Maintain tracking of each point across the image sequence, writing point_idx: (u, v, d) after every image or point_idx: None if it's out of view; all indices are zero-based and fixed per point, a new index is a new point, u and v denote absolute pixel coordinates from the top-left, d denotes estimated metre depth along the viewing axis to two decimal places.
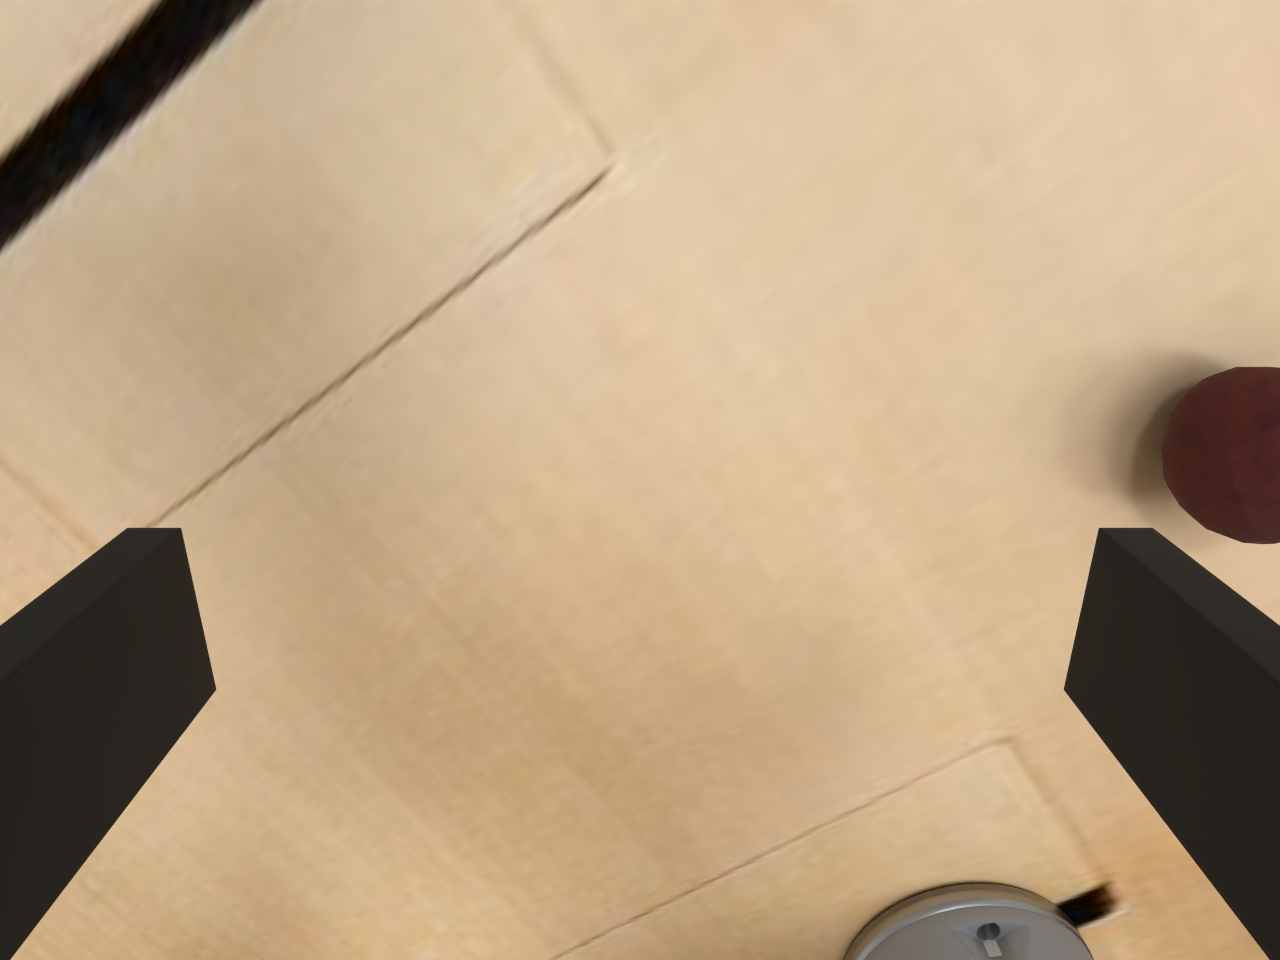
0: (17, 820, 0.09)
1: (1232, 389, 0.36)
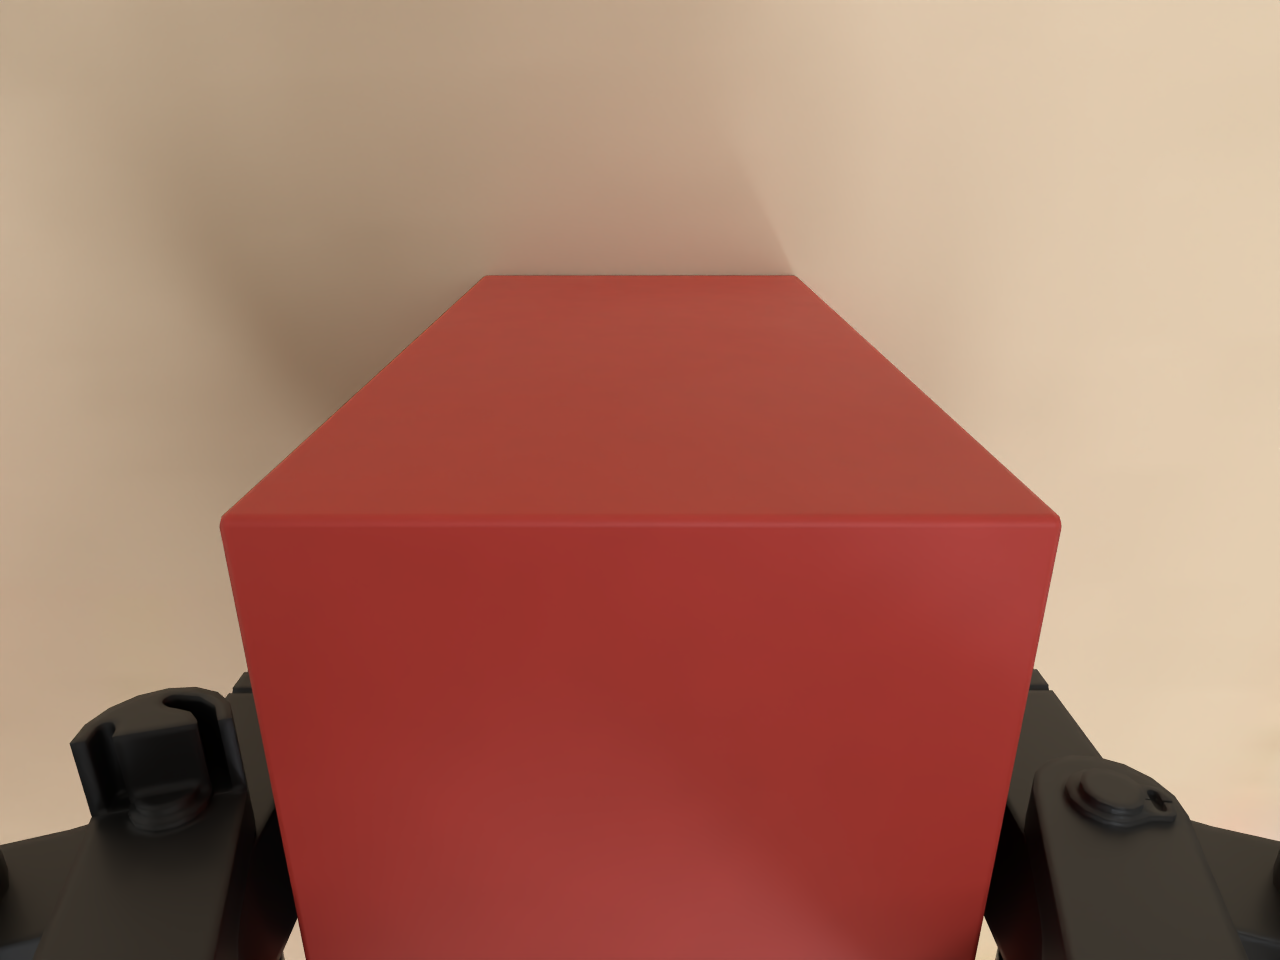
0: None
1: None
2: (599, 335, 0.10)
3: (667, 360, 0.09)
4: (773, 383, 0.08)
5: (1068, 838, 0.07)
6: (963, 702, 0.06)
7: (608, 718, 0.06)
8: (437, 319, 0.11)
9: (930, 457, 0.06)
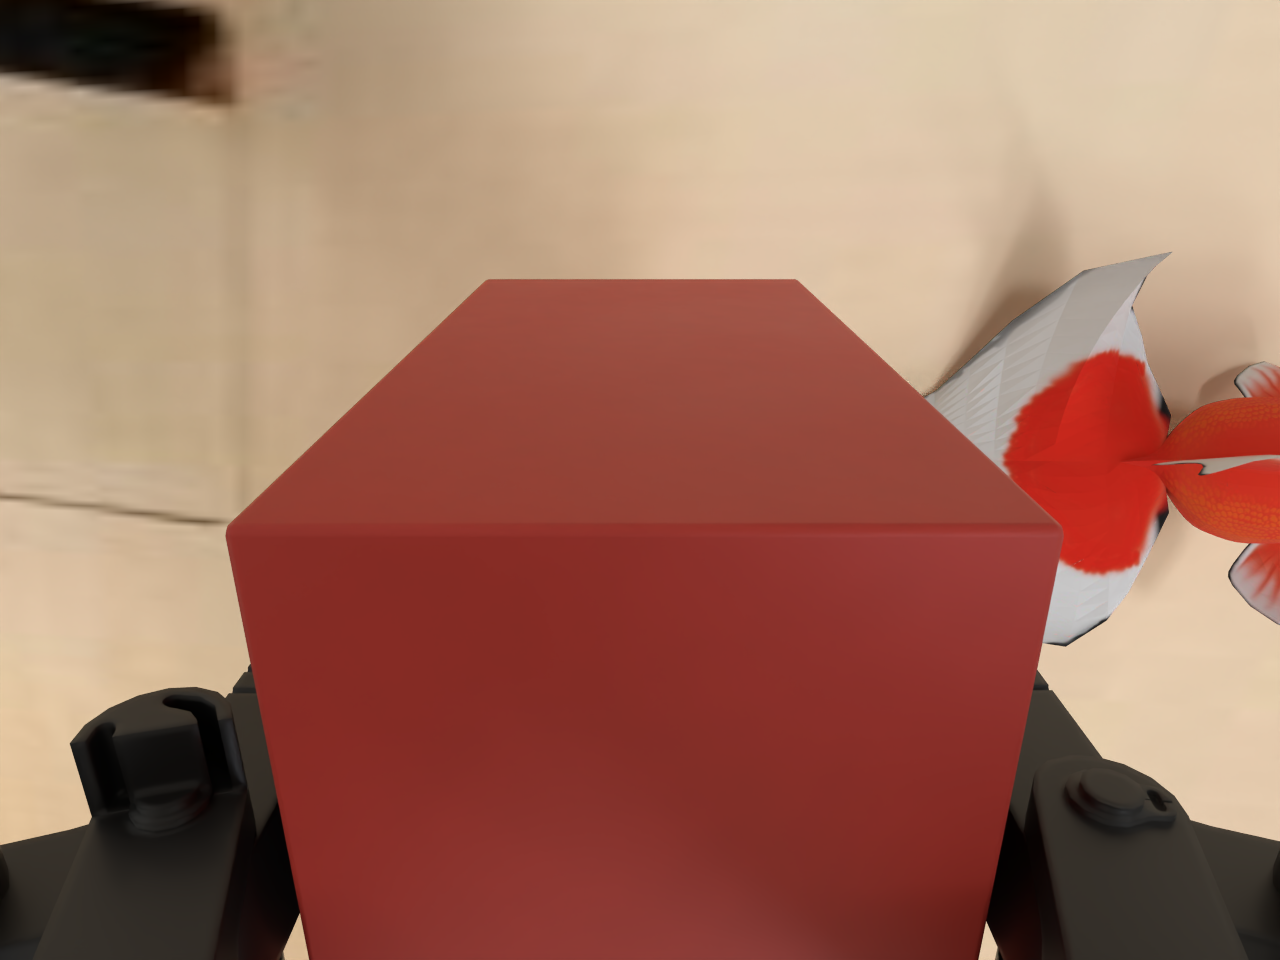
0: None
1: None
2: (601, 340, 0.10)
3: (669, 366, 0.09)
4: (775, 388, 0.08)
5: (1067, 837, 0.07)
6: (966, 710, 0.06)
7: (614, 725, 0.06)
8: None
9: (933, 465, 0.06)
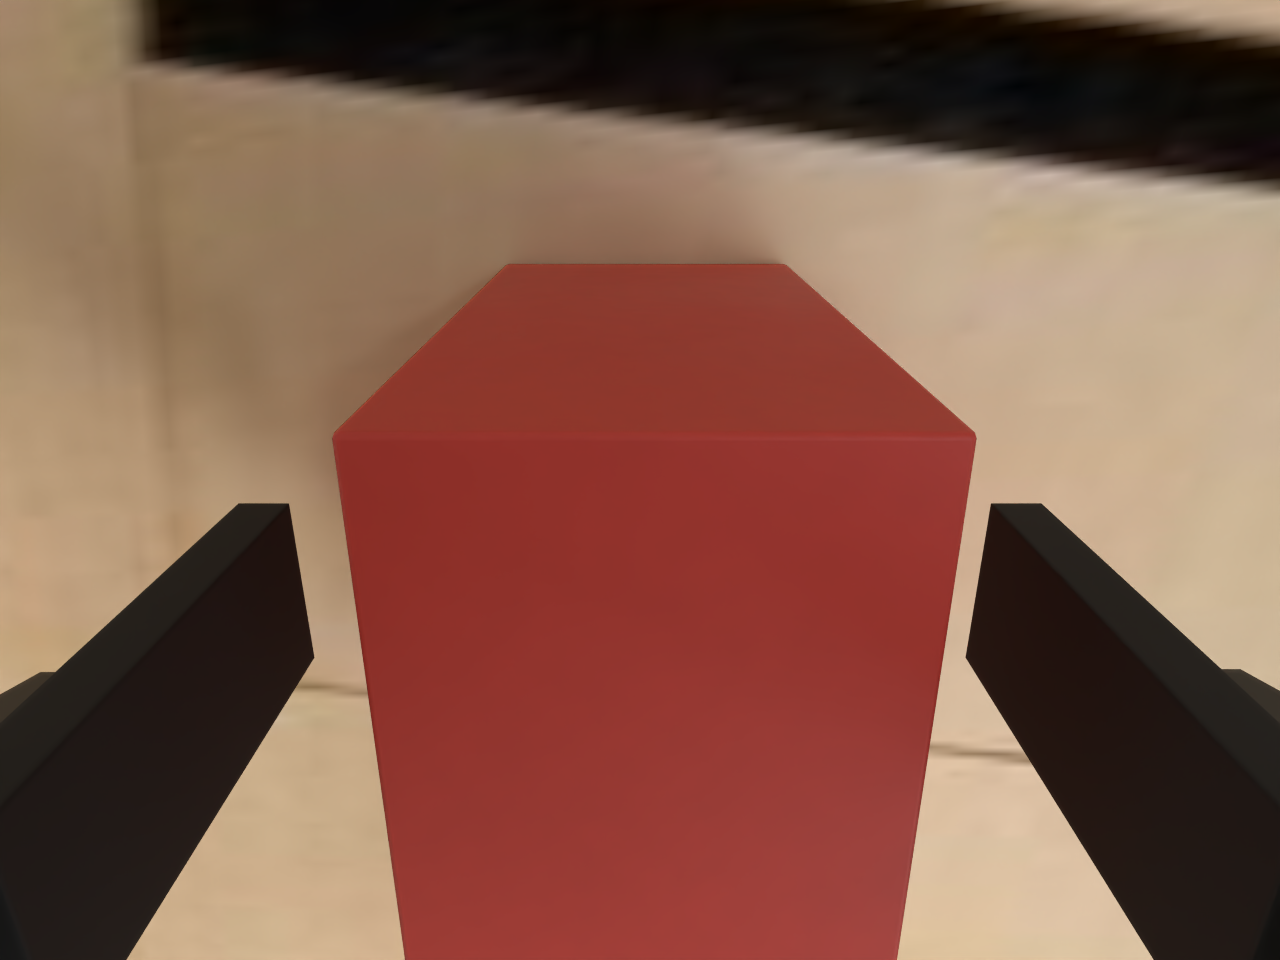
0: (174, 764, 0.10)
1: None
2: (613, 311, 0.12)
3: (672, 329, 0.11)
4: (760, 345, 0.10)
5: None
6: (905, 582, 0.08)
7: (628, 595, 0.08)
8: (471, 299, 0.13)
9: (882, 395, 0.08)
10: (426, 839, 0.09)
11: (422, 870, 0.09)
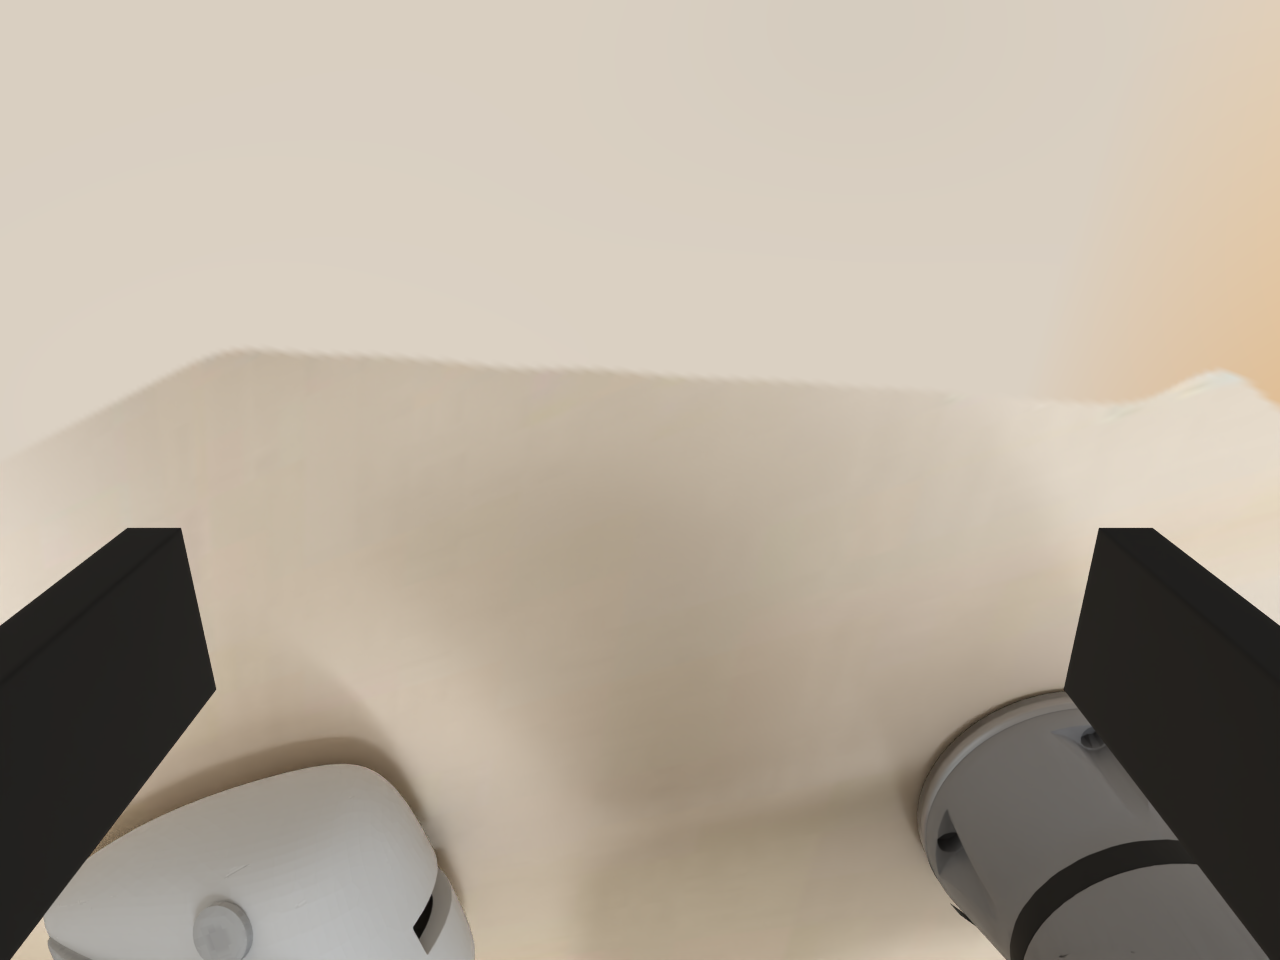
0: (17, 820, 0.09)
1: None
2: None
3: None
4: None
5: None
6: None
7: None
8: None
9: None
10: None
11: None
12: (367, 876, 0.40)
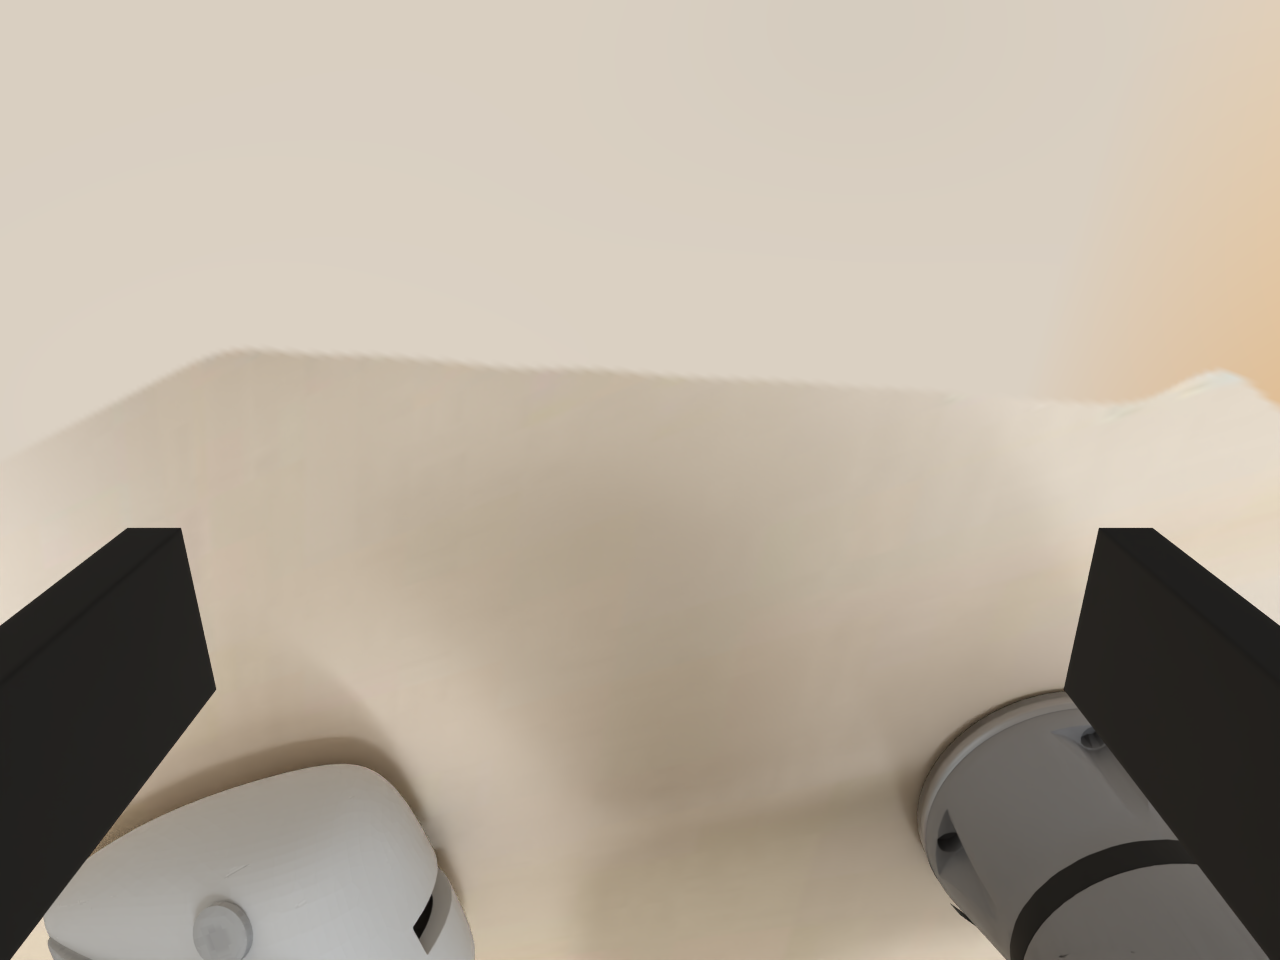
0: (17, 820, 0.09)
1: None
2: None
3: None
4: None
5: None
6: None
7: None
8: None
9: None
10: None
11: None
12: (367, 876, 0.40)
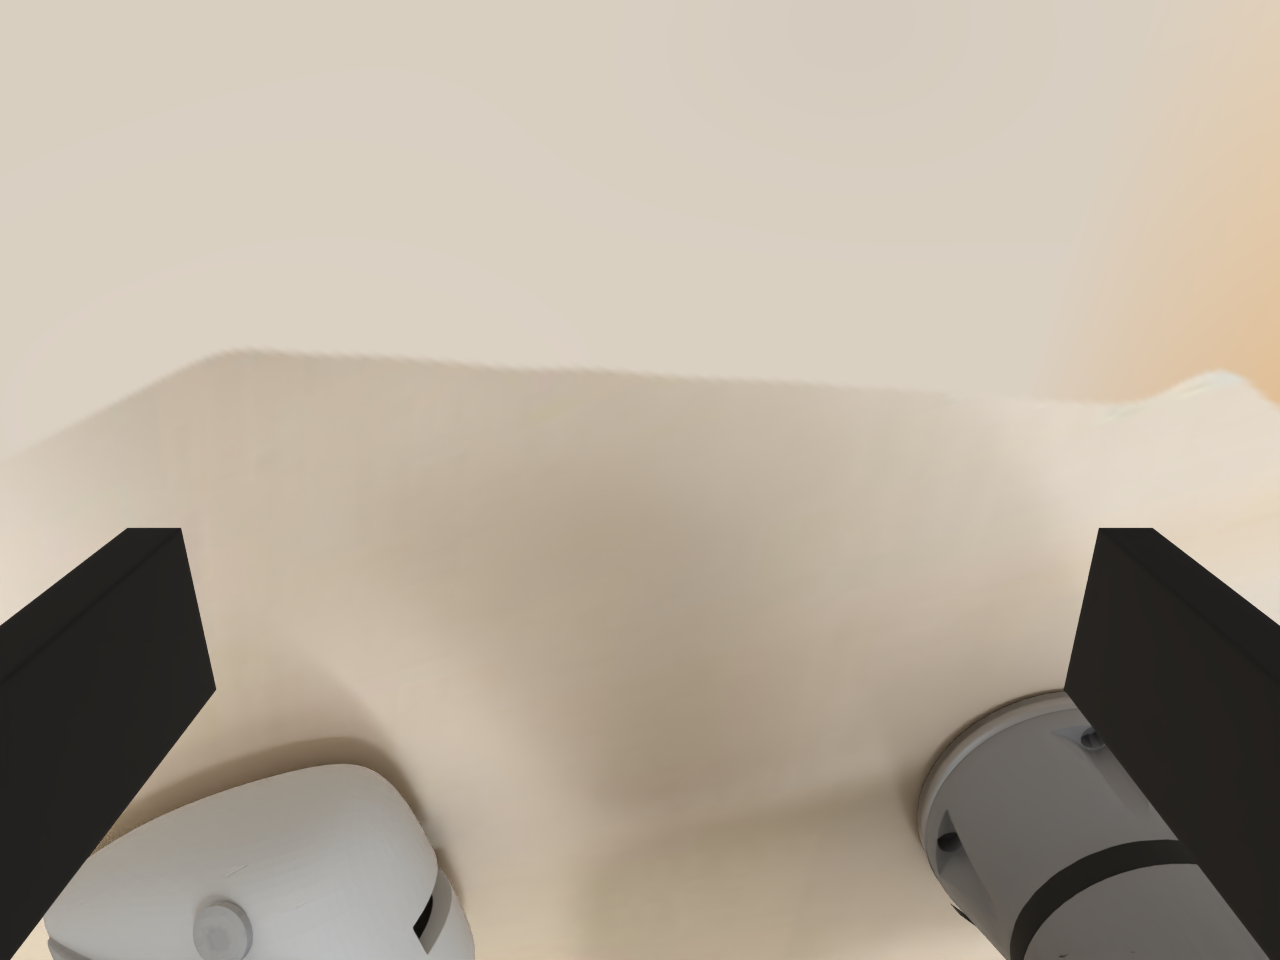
0: (17, 820, 0.09)
1: None
2: None
3: None
4: None
5: None
6: None
7: None
8: None
9: None
10: None
11: None
12: (367, 876, 0.40)
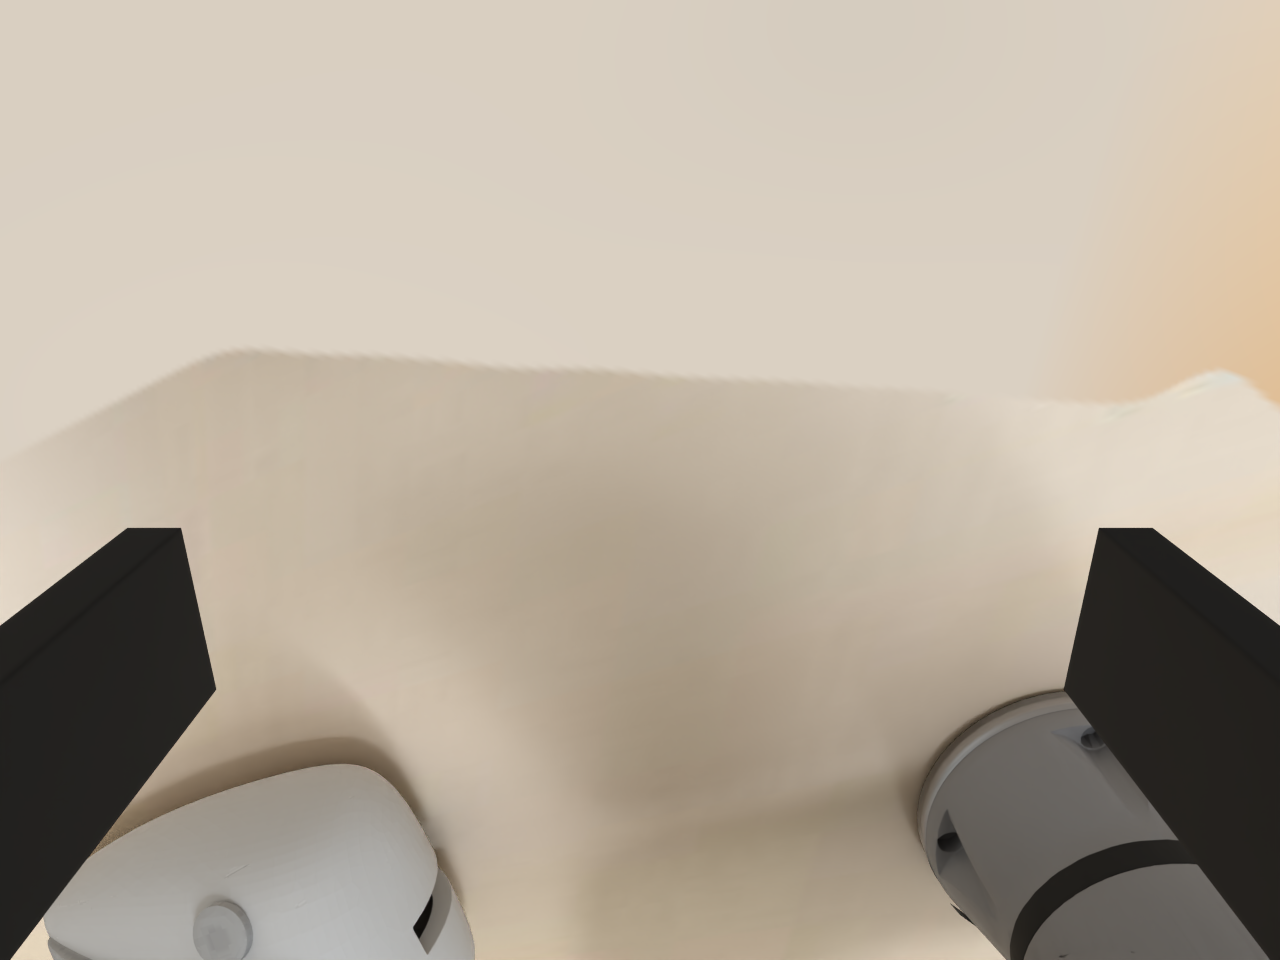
0: (17, 820, 0.09)
1: None
2: None
3: None
4: None
5: None
6: None
7: None
8: None
9: None
10: None
11: None
12: (367, 876, 0.40)
